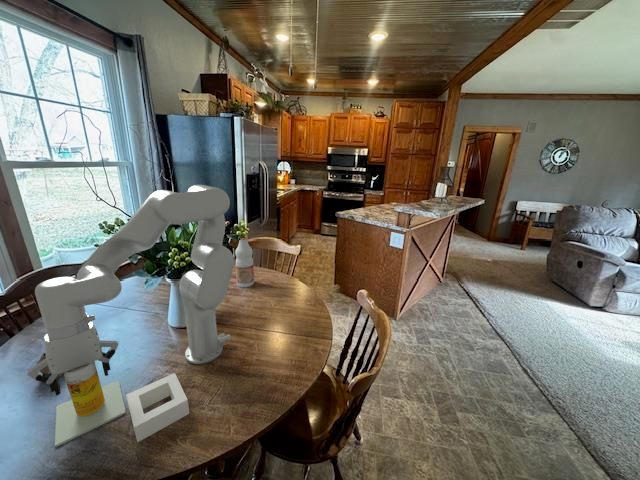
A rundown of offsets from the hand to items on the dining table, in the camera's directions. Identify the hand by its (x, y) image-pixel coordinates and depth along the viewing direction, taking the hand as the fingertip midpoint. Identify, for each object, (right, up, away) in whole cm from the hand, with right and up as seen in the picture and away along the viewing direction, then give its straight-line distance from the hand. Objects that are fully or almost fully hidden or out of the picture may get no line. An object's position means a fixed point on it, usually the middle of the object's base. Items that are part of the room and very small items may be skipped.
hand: (83, 381), depth 71 cm
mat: (0, -9, +3) cm, 10 cm away
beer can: (0, -9, +3) cm, 9 cm away
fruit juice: (+21, +13, +79) cm, 83 cm away
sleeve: (+18, -10, +4) cm, 21 cm away
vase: (-21, -6, +13) cm, 25 cm away
